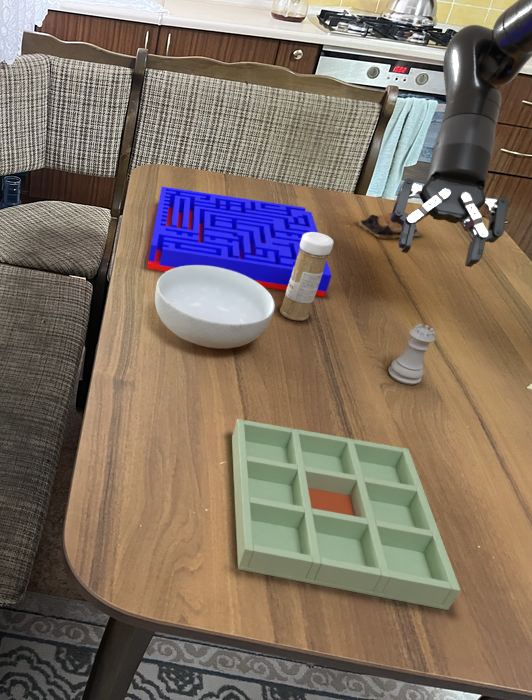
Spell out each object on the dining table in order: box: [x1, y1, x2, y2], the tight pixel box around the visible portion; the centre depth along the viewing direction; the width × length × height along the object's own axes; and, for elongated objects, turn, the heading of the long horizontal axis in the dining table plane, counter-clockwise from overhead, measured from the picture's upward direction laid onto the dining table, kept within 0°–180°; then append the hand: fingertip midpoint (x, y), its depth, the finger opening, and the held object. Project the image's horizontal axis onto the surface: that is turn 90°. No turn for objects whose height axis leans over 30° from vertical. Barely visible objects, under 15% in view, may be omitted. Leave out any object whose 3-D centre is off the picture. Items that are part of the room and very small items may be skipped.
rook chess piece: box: [388, 323, 436, 386], centre depth 94 cm, size 4×4×8 cm
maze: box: [146, 186, 333, 298], centre depth 127 cm, size 30×30×4 cm
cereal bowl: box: [154, 265, 276, 349], centre depth 100 cm, size 17×17×7 cm
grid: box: [231, 418, 461, 611], centre depth 72 cm, size 20×20×3 cm
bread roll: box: [358, 212, 422, 240], centre depth 141 cm, size 11×8×4 cm
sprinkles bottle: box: [279, 232, 335, 322], centre depth 105 cm, size 5×5×14 cm
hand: (437, 257), depth 96 cm, fingers open, 8 cm apart
